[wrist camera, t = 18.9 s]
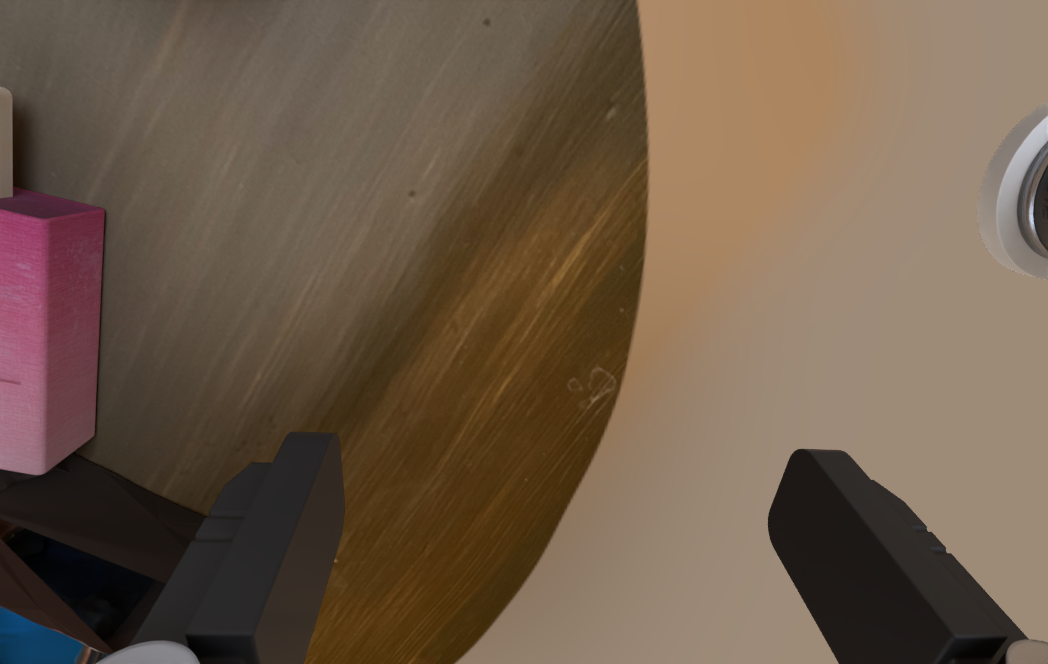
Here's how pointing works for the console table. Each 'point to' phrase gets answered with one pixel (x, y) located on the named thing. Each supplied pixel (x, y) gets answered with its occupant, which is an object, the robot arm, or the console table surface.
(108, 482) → the lantern
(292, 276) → the console table surface
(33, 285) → the popsicle
